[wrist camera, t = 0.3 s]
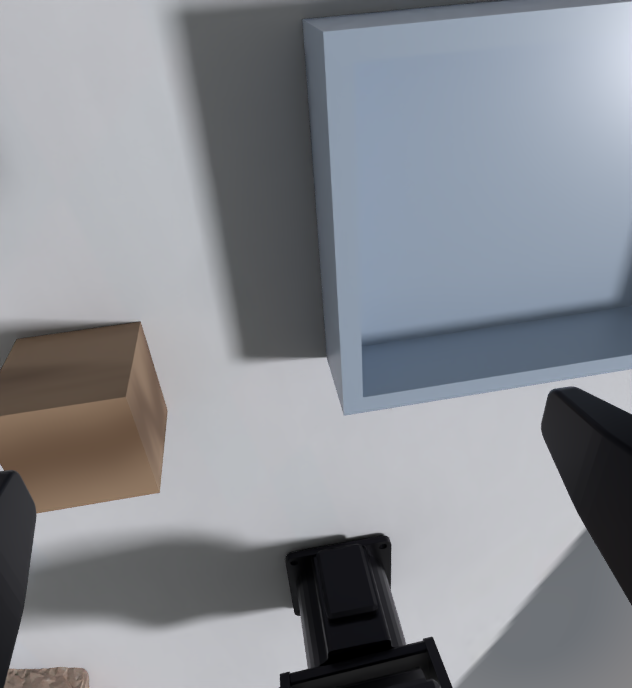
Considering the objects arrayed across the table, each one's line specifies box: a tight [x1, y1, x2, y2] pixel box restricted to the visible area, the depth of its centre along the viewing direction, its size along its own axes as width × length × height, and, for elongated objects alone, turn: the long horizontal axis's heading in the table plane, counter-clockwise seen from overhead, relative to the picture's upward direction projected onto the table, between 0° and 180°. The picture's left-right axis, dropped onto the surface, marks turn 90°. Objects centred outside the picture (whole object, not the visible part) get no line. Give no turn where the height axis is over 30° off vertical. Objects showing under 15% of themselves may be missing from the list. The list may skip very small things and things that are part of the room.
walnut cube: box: [0, 322, 167, 513], centre depth 22 cm, size 5×5×5 cm
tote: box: [302, 0, 632, 416], centre depth 21 cm, size 14×18×4 cm
